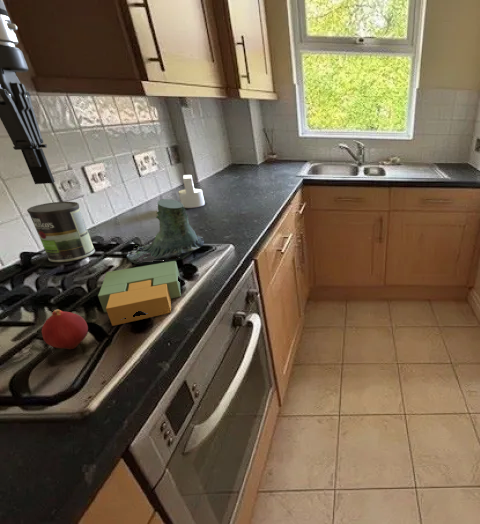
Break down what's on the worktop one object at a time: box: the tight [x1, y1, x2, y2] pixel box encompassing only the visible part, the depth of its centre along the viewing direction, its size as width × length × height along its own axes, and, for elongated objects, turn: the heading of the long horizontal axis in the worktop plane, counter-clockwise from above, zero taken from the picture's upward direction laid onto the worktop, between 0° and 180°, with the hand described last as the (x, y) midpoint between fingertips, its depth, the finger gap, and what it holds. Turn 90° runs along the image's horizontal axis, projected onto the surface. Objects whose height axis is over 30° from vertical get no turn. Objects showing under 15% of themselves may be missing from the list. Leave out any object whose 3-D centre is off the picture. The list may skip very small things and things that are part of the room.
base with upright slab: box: [177, 174, 206, 209], centre depth 139 cm, size 9×9×12 cm
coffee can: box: [26, 201, 96, 263], centre depth 90 cm, size 10×10×14 cm
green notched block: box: [97, 260, 182, 313], centre depth 75 cm, size 14×12×4 cm
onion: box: [41, 309, 89, 350], centre depth 56 cm, size 6×6×8 cm
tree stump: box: [126, 198, 205, 266], centre depth 94 cm, size 18×20×18 cm
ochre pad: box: [106, 280, 172, 327], centre depth 69 cm, size 10×10×4 cm
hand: (45, 182), depth 66 cm, fingers closed
